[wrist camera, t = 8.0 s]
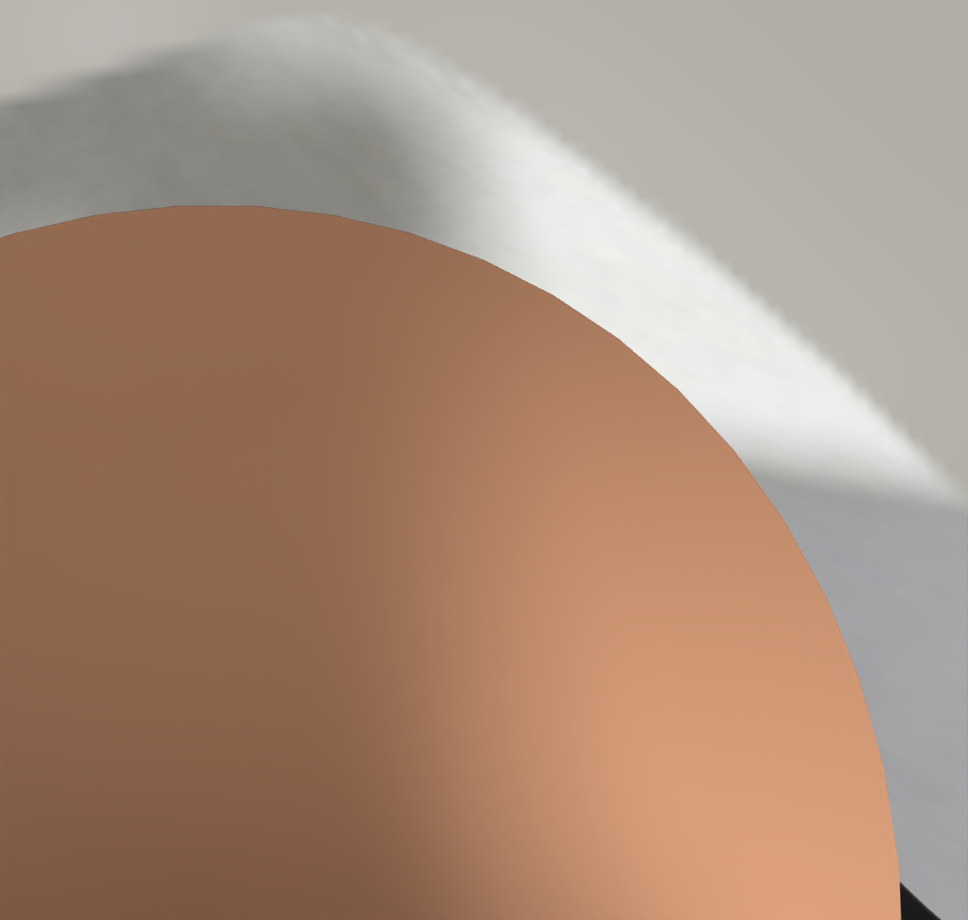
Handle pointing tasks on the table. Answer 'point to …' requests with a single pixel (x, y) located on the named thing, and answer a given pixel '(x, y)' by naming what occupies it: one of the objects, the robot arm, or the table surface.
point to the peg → (393, 602)
